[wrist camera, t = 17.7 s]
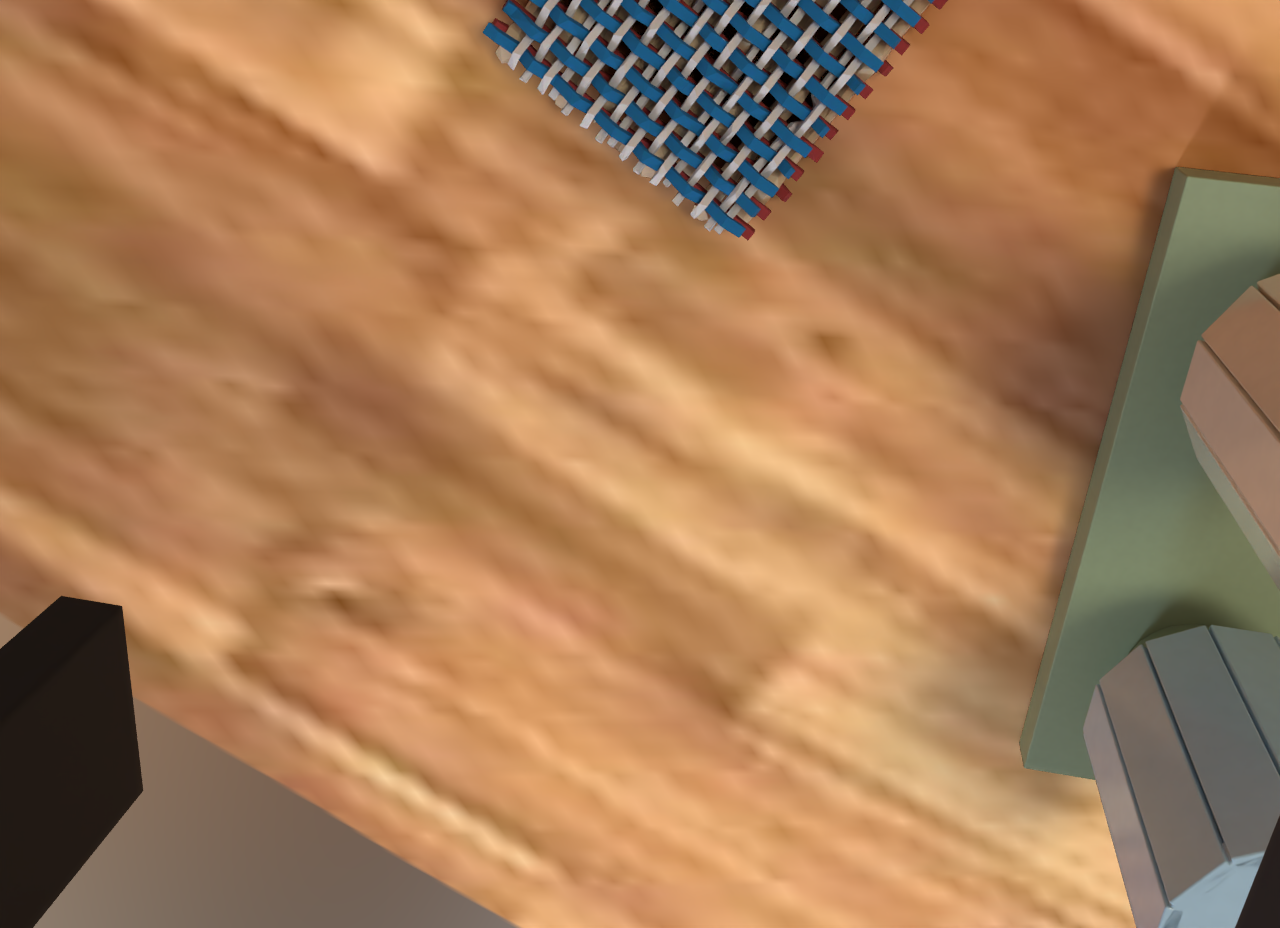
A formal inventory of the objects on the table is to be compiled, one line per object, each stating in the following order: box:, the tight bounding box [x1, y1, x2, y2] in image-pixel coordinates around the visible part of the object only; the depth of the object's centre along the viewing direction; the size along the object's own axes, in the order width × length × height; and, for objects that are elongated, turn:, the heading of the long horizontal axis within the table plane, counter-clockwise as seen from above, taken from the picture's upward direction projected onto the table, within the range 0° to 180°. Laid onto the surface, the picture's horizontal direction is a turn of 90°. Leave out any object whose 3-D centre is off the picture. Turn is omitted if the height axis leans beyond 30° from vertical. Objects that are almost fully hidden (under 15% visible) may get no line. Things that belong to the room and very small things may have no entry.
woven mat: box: [483, 0, 948, 240], centre depth 37 cm, size 10×11×2 cm
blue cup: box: [1083, 625, 1280, 928], centre depth 36 cm, size 8×10×10 cm
